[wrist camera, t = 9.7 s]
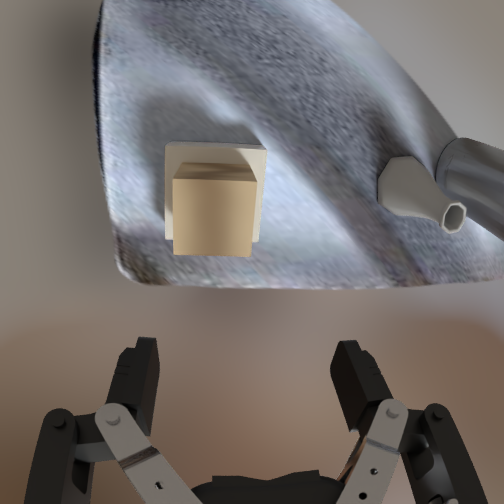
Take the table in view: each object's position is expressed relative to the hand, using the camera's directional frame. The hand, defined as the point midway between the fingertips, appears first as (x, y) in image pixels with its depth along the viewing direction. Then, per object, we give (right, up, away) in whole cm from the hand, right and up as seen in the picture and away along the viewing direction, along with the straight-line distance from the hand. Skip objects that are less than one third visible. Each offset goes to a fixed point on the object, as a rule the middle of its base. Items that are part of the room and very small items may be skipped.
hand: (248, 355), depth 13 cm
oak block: (-3, +10, +15) cm, 18 cm away
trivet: (-4, +11, +18) cm, 21 cm away
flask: (+17, +12, +20) cm, 29 cm away
